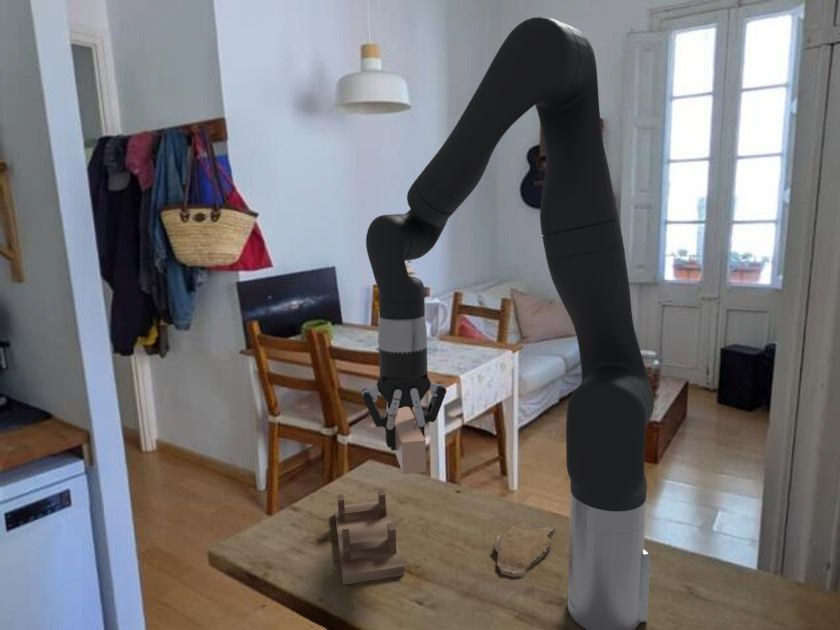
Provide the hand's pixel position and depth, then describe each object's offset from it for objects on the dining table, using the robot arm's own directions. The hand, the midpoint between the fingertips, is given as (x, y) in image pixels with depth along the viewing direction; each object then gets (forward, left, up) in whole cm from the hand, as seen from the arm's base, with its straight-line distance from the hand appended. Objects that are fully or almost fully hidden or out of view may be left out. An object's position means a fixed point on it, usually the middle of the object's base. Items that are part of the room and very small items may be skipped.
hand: (405, 446), depth 94 cm
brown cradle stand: (+7, 0, -16) cm, 17 cm away
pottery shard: (-17, +8, -16) cm, 25 cm away
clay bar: (0, 0, -1) cm, 1 cm away
